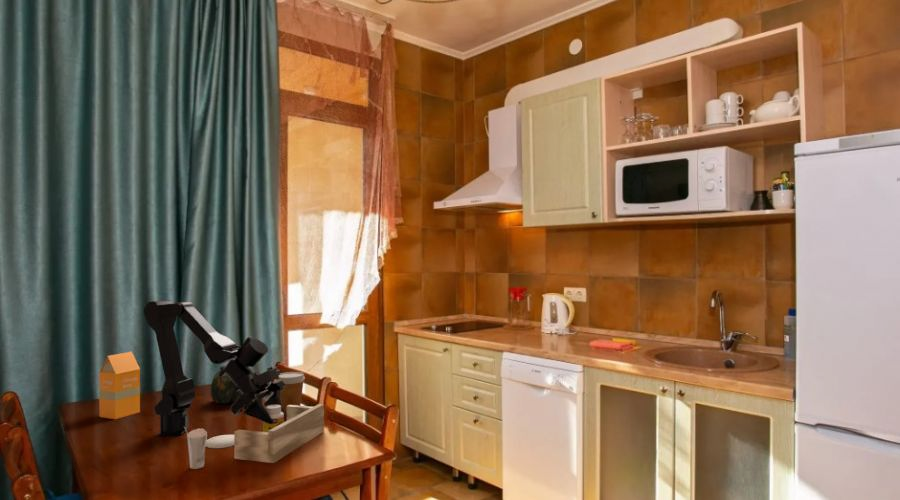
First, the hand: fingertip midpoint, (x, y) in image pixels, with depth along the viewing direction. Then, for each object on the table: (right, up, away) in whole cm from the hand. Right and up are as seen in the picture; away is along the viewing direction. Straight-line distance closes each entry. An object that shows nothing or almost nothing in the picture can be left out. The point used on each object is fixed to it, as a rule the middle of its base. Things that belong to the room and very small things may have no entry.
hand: (277, 419), depth 152 cm
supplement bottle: (-1, -7, 0) cm, 7 cm away
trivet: (-16, -7, +1) cm, 17 cm away
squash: (-30, -7, +44) cm, 53 cm away
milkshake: (-15, -7, -16) cm, 23 cm away
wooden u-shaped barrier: (+1, -7, 0) cm, 7 cm away
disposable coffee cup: (-6, -7, +32) cm, 33 cm away
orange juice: (-61, -7, +28) cm, 67 cm away
